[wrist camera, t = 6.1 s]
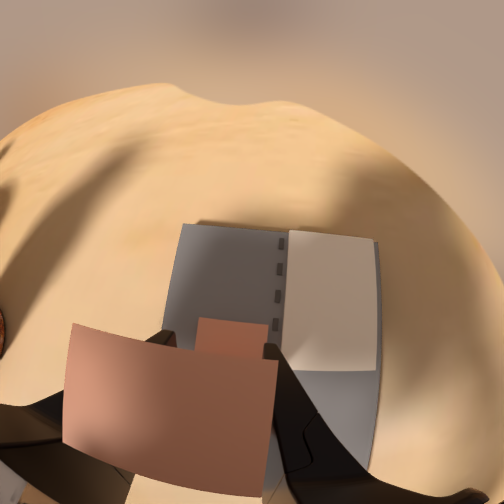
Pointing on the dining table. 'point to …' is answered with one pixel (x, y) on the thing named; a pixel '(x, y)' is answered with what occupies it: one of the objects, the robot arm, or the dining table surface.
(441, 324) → the dining table surface
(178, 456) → the stub
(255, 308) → the ticket board
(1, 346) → the sauce bottle
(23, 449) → the robot arm
